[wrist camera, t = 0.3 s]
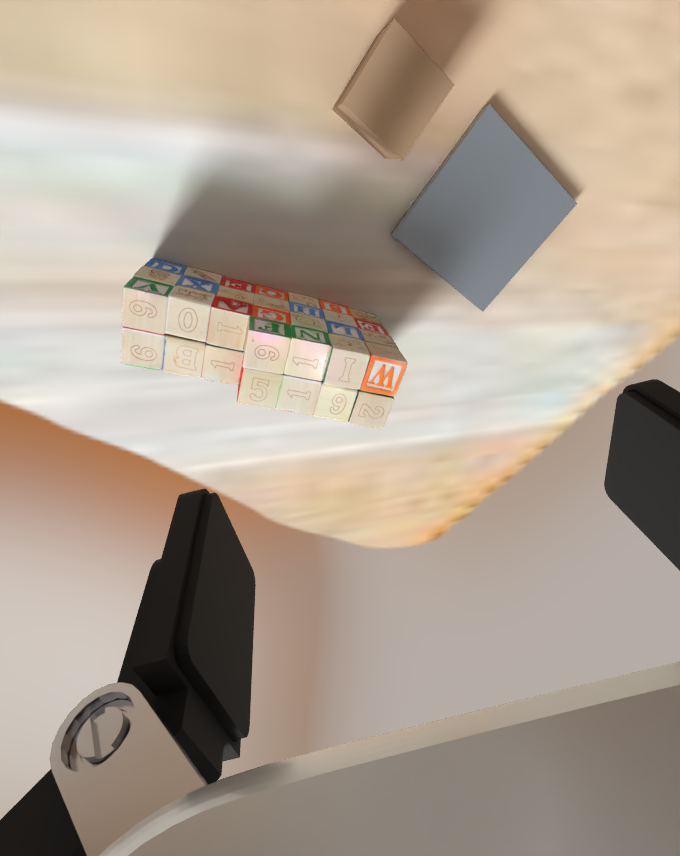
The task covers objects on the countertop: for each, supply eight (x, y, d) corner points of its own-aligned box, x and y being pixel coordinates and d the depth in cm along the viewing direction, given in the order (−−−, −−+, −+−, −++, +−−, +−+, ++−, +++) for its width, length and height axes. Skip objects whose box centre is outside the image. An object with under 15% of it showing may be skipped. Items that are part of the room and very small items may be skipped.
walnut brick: (332, 109, 35) (342, 103, 30) (375, 37, 33) (394, 18, 28) (384, 158, 38) (402, 159, 33) (428, 93, 36) (454, 84, 31)
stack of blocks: (146, 323, 42) (105, 380, 32) (151, 255, 39) (108, 295, 29) (359, 369, 48) (383, 431, 37) (378, 313, 45) (410, 364, 34)
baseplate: (390, 234, 41) (393, 236, 40) (484, 105, 37) (489, 104, 36) (479, 308, 46) (482, 311, 45) (571, 202, 41) (577, 203, 41)
